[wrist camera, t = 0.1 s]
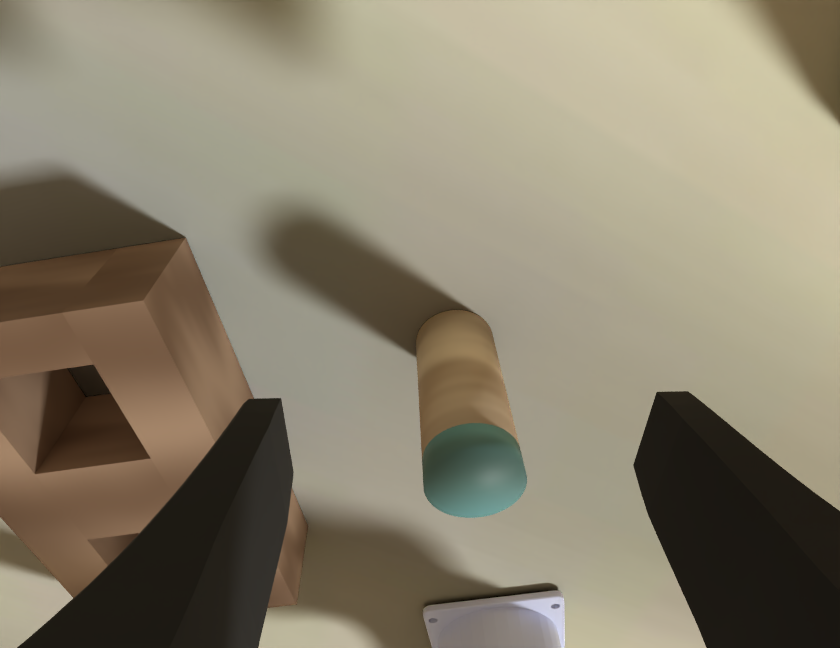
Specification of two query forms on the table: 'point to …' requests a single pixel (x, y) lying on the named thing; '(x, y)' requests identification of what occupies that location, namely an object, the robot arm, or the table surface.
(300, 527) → the socket block
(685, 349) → the table surface
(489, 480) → the peg
